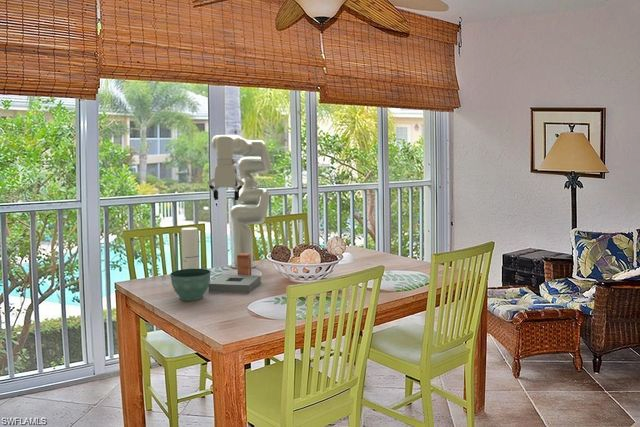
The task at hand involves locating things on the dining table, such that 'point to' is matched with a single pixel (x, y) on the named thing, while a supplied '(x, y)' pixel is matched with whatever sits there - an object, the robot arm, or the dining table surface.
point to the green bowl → (190, 283)
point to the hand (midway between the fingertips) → (226, 199)
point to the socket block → (234, 283)
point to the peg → (244, 263)
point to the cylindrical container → (190, 248)
